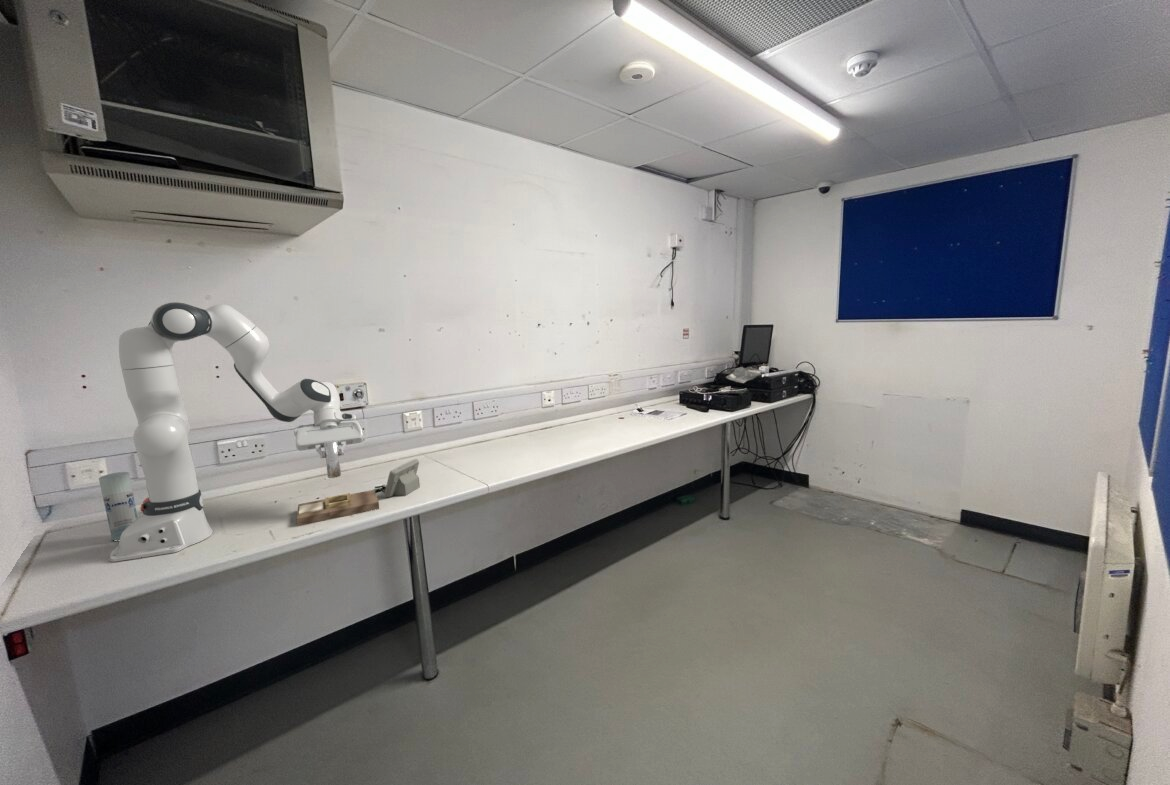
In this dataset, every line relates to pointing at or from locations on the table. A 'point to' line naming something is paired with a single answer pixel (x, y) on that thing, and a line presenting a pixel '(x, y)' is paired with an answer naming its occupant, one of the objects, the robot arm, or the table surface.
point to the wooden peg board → (336, 507)
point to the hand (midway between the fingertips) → (332, 455)
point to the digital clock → (403, 479)
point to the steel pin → (332, 459)
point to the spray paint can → (118, 502)
